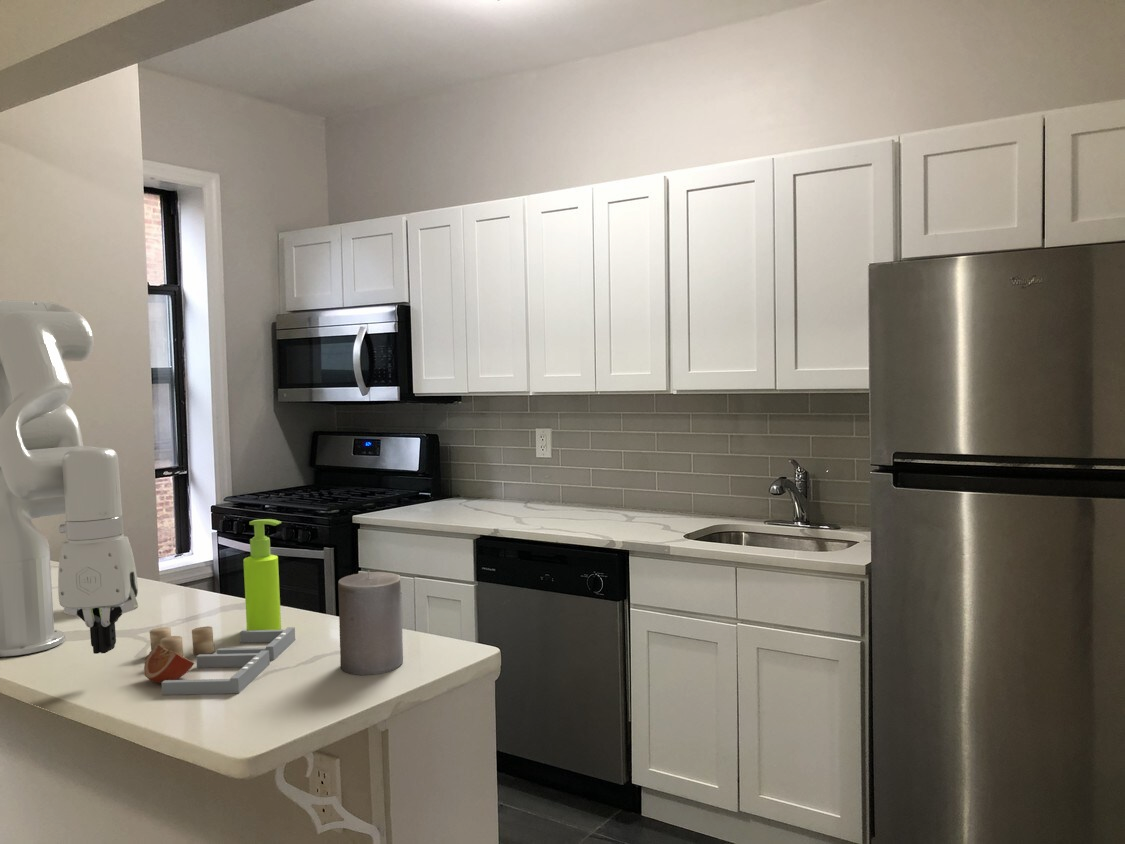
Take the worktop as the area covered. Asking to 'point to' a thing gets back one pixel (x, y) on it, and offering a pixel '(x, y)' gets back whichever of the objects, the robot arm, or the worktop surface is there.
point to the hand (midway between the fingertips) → (104, 650)
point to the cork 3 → (202, 640)
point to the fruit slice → (165, 665)
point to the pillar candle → (370, 623)
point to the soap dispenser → (262, 581)
